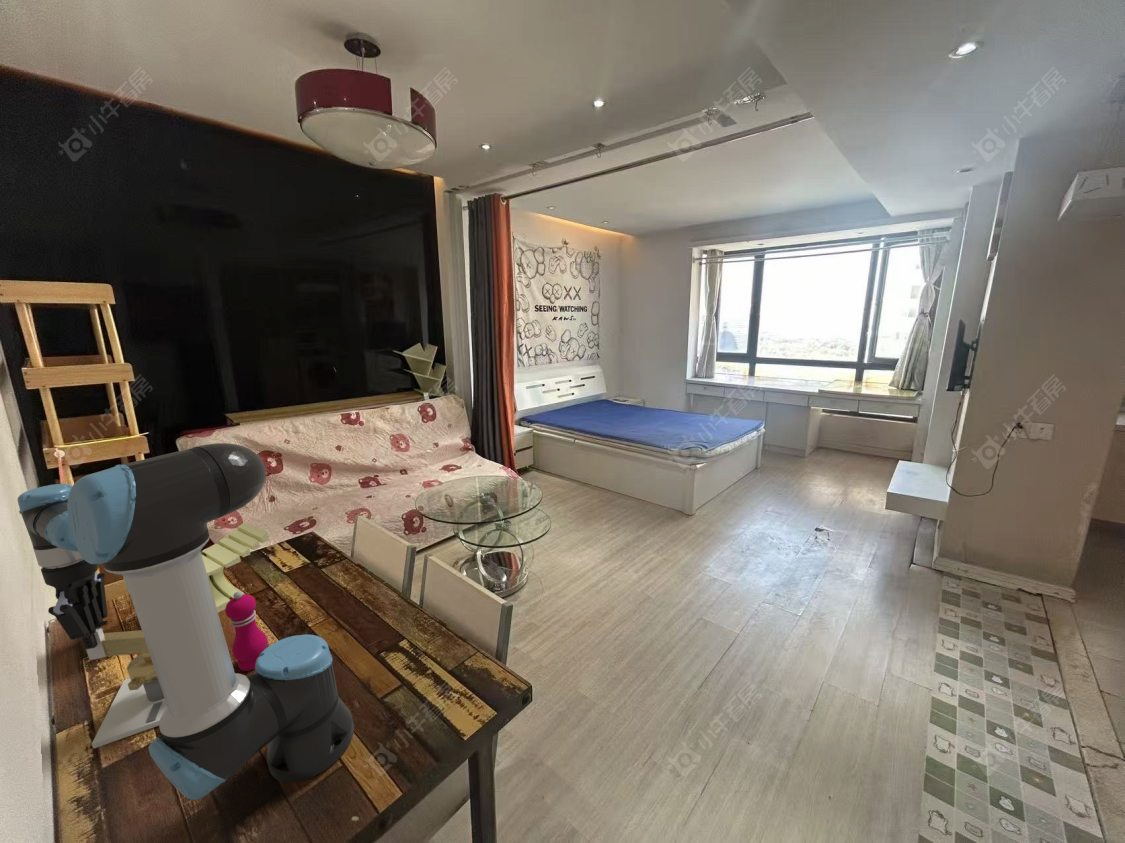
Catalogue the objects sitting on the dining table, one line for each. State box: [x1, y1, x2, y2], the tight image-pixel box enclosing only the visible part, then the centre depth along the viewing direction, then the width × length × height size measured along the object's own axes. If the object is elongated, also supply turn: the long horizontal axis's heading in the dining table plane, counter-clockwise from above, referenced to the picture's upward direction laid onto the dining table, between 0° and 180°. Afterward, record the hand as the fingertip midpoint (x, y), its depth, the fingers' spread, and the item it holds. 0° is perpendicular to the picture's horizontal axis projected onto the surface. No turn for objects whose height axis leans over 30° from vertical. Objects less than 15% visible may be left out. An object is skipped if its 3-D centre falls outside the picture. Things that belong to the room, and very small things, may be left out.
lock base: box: [91, 677, 167, 749], centre depth 100 cm, size 18×18×7 cm
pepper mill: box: [224, 590, 269, 672], centre depth 108 cm, size 7×7×20 cm
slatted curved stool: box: [122, 522, 270, 613], centre depth 131 cm, size 30×16×18 cm, turn 149°
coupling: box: [102, 629, 158, 690], centre depth 97 cm, size 11×22×10 cm, turn 95°
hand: (99, 656), depth 95 cm, fingers closed
